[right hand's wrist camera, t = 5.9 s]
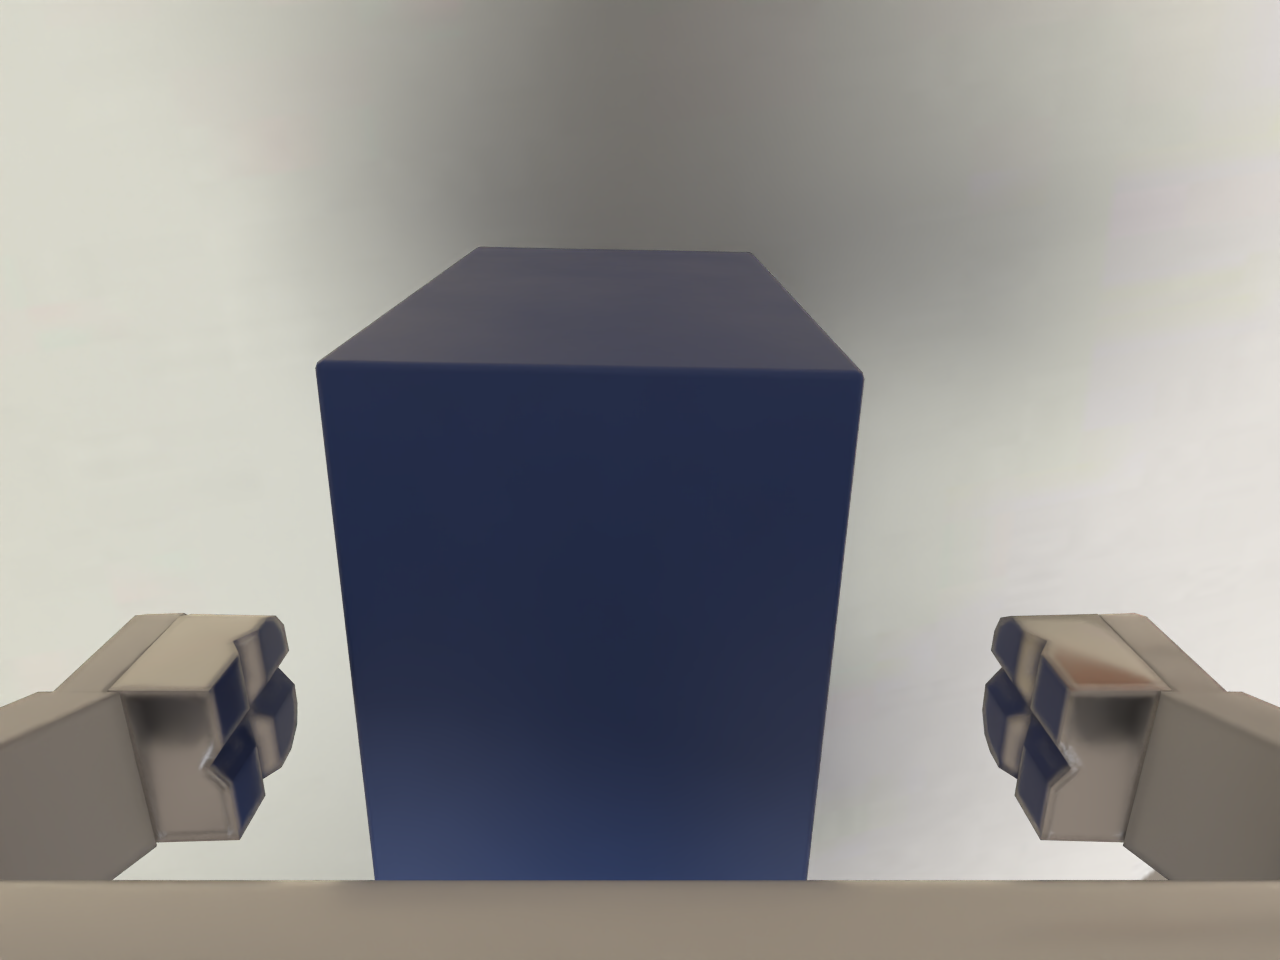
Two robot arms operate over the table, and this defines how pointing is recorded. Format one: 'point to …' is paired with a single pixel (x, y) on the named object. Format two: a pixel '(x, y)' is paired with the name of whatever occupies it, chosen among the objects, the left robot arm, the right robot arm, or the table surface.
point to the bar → (591, 565)
